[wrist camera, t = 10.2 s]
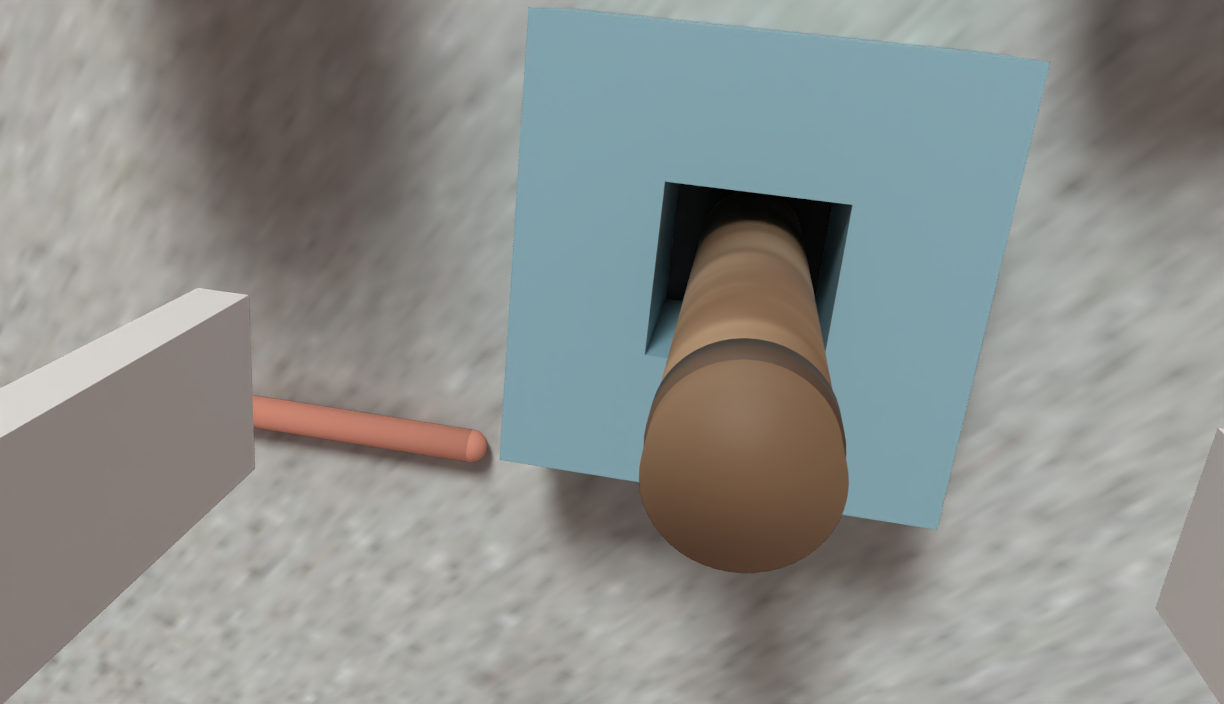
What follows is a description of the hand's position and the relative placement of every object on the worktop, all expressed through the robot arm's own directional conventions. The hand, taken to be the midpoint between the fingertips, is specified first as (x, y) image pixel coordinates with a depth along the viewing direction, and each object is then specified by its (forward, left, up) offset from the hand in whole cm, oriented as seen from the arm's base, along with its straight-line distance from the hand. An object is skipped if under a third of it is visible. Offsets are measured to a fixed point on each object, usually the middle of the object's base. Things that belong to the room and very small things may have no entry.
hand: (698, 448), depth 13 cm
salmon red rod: (-13, -8, -15) cm, 21 cm away
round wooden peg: (0, 0, -15) cm, 15 cm away
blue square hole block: (0, 0, -15) cm, 15 cm away
